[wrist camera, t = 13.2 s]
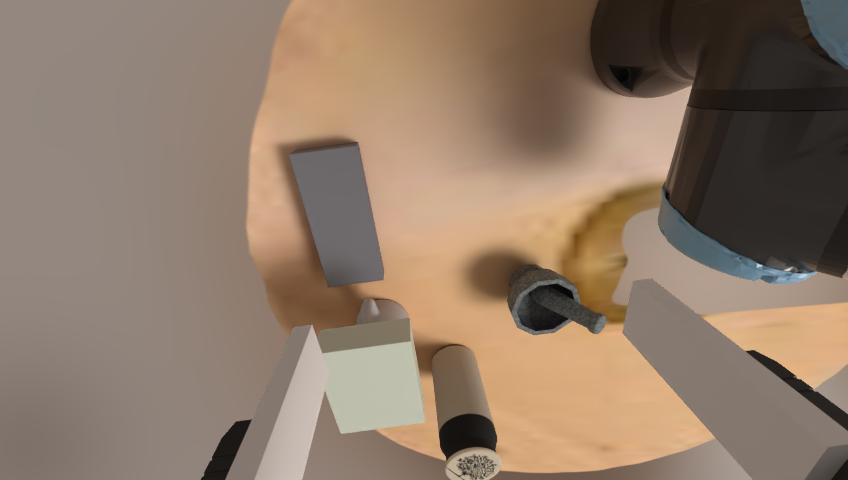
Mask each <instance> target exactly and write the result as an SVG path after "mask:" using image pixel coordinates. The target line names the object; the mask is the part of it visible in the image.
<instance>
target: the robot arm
mask: <svg viewBox="0 0 848 480" xmlns="http://www.w3.org/2000/svg"><path fill="white" fill-rule="evenodd" d="M591 54H592V60H593V63H594V66H595V69H596V71H597V73H598V75H599V77H600V78H601V80H602V81H603V82H604V83H605V84H606V85H607V86H608V87H609V88H610V89H611V90H613V91H615V92H616V93H618V94H621V95H624V96H628V97H638V98H654V97H660V96H664V95H668V94H671V93H674V92H676V91H679V90H681V89H684V88H686V87H689V86H691V85H693V86H692V89H691V93H690V97H689V101H688V104H687V106H686V110H685V114H684V118H683V121H682V125H681V129H680V133H679V136H678V140H677V144H676V148H675V151H674V155H673V159H672V162H671V165H670V169H669V172H668V176H667V179H666V181H665V183H664V185H663V187H662V190H661V194H662V202H661V206H660V211H659V216H658V225H659V228H660V230H661V232H662V234H663V235H664V236H665V237H666V239H667V241H668V242H669V243H670V244H671V245H672V246H674V247H675V248H676V249H677V250H679V251H680V252H681V253H683V254H684V255H686V256H688V257H689V258H691V259H693V260H695V261H697V262H699V263H701V264H703V265H705V266H708V267H710V268H712V269H715V270H717V271H720V272H723V273H726V274H729V275H732V276H735V277H739V278H743V279H747V280H752V281H756V280H758V279H761V280H763V281H765V282H768V283H772V284H792V283H797V282H801V281H804V280H806V279H807V278H808V277H811V276H813V275H815V274H816V273H817V272H821V273H825V274H829V275H832V276H836V277H840V278H844V279H847V280H848V0H600V1H599V3H598V6H597V9H596V12H595V15H594V19H593V23H592V29H591ZM622 333H623V334H624V335H625V336H626V337H627V339H628V340H629V341H630V342H631V343H632V344H633V345H634V346H635V348H636V349H637V350H638V351H639V352H640V353H641V354H642V355H643V357H644V358H645V359H646V360H647V361H648V362H649V363H650V364H651V366H652V367H653V368H654V369H655V370H656V371H657V372H658V373H659V375H660V376H661V377H662V378H663V379H664V380H665V381H666V382H667V384H668V385H669V386H670V387H671V388H672V389H673V390H674V391H675V393H676V394H677V395H678V396H679V397H680V398H681V399H682V400H683V402H684V403H685V404H686V405H687V406H688V407H689V408H690V409H691V411H692V412H693V413H694V414H695V415H696V416H697V417H698V418H699V420H700V421H701V422H702V423H703V424H704V425H705V426H706V427H707V429H708V430H709V431H710V432H711V433H712V434H713V435H714V436H715V438H716V439H717V440H718V441H719V442H720V443H721V444H722V445H723V446H724V448H725V449H726V450H727V451H728V452H729V453H730V454H731V456H732V457H733V458H734V459H735V460H736V461H737V462H738V463H739V464H740V466H741V467H742V468H743V469H744V470H745V471H746V472H747V474H748V475H749V476H750V477H751V478H752V479H753V480H848V414H847V413H845V412H844V411H843V410H841V409H840V408H839V407H837V406H836V405H835V404H833V403H831V402H830V401H829V400H828V399H826V398H825V397H824V396H822V395H821V394H819V393H818V392H815V391H813V388H812V387H810V386H809V385H808V384H806V383H805V382H803V381H802V380H801V379H797V378H796V376H795V375H794V374H793V373H791V372H790V371H789V370H787V369H786V368H785V367H783V366H782V365H780V364H779V363H778V362H776V361H774V360H772V359H770V358H768V357H766V356H764V355H762V354H760V353H758V352H756V351H754V350H751V351H744V350H743V349H742V348H740V347H739V346H738V345H736V344H735V343H734V342H733V341H731V340H730V339H729V338H727V337H726V336H725V335H724V334H722V333H721V332H720V331H718V330H717V329H716V328H715V327H713V326H712V325H711V324H709V323H708V322H707V321H706V320H704V319H703V318H702V317H700V316H699V315H698V314H697V313H695V312H694V311H693V310H691V309H690V308H689V307H688V306H686V305H685V304H684V303H682V302H681V301H680V300H679V299H677V298H676V297H675V296H673V295H672V294H671V293H670V292H668V291H667V290H666V289H664V288H663V287H662V286H660V285H659V284H658V283H657V282H655V281H654V280H653V279H644V280H637V281H633V283H632V289H631V293H630V298H629V303H628V308H627V313H626V318H625V323H624V328H623V332H622ZM328 375H329V371H328V368H327V366H326V363H325V360H324V357H323V354H322V351H321V348H320V346H319V343H318V340H317V337H316V334H315V331H314V328H313V326H312V324H311V325H304V326H297V327H293V329H292V331H291V333H290V335H289V338H288V340H287V342H286V345H285V347H284V349H283V351H282V353H281V356H280V358H279V360H278V362H277V365H276V367H275V369H274V372H273V374H272V376H271V378H270V380H269V383H268V385H267V387H266V390H265V392H264V394H263V396H262V398H261V401H260V403H259V405H258V407H257V410H256V412H255V414H254V417H253V418H252V420H245V421H237V422H235V424H234V425H233V426H232V427H231V428H230V429H229V431H228V432H227V433H226V434H225V435H224V436H223V437H222V439H221V441H220V443H219V445H218V447H217V449H216V451H215V453H214V455H213V456H212V461H210V463H209V464H208V466H207V468H206V470H205V472H204V477H202V478H201V480H302V478H303V474H304V470H305V466H306V462H307V458H308V454H309V450H310V446H311V442H312V438H313V434H314V430H315V426H316V422H317V418H318V414H319V410H320V406H321V403H322V399H323V395H324V391H325V387H326V383H327V379H328Z"/></svg>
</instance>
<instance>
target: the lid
mask: <svg viewBox="0 0 848 480" xmlns="http://www.w3.org/2000/svg"><path fill="white" fill-rule="evenodd" d="M317 340H318V343H319V346H320V348H321V351H322V354H323V357H324V360H325V363H326V366H327V368H328V371H329V375H328V379H327V383H326V387H325V392H326V394H327V397H328V400H329V403H330V405H331V408H332V411H333V413H334V416H335V419H336V421H337V424H338V427H339V430H340V432H341V434H344V433H351V432H358V431H366V430H373V429H380V428H388V427H395V426H402V425H410V424H417V423H424V422H425V414H424V399H423V391H422V386H421V380H420V374H419V368H418V362H417V357H416V351H415V345H414V339H413V334H412V328H411V322H410V318H404V319H397V320H389V321H382V322H375V323H367V324H360V325H352V326H345V327H337V328H330V329H323V330H320V331H319V334H318V337H317Z"/></svg>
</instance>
